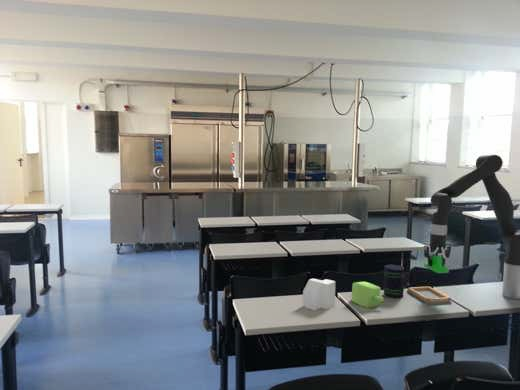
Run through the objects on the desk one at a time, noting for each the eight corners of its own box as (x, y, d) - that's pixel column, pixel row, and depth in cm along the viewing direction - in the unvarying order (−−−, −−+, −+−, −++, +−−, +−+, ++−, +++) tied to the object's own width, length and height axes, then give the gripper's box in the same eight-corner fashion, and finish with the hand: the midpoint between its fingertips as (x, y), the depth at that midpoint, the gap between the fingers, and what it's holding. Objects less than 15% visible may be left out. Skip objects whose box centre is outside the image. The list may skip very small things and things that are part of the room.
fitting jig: (427, 290, 224) (427, 285, 224) (451, 303, 204) (451, 298, 204) (407, 291, 222) (407, 287, 221) (429, 305, 202) (429, 300, 202)
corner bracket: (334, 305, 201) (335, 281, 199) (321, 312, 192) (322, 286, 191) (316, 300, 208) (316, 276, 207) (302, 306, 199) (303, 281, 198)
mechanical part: (448, 272, 205) (450, 256, 204) (437, 273, 204) (438, 257, 203) (435, 266, 217) (435, 250, 216) (424, 266, 216) (425, 251, 215)
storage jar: (382, 297, 213) (383, 268, 211) (383, 291, 222) (384, 263, 221) (403, 299, 210) (404, 270, 208) (403, 293, 219) (404, 265, 217)
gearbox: (388, 308, 198) (390, 289, 198) (373, 311, 193) (375, 291, 193) (361, 296, 214) (363, 278, 213) (347, 299, 209) (348, 280, 208)
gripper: (446, 231, 214) (444, 263, 216) (421, 231, 211) (418, 264, 213) (456, 234, 207) (453, 267, 208) (430, 234, 204) (427, 268, 205)
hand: (436, 265), depth 211 cm, fingers closed on mechanical part, 6 cm apart
